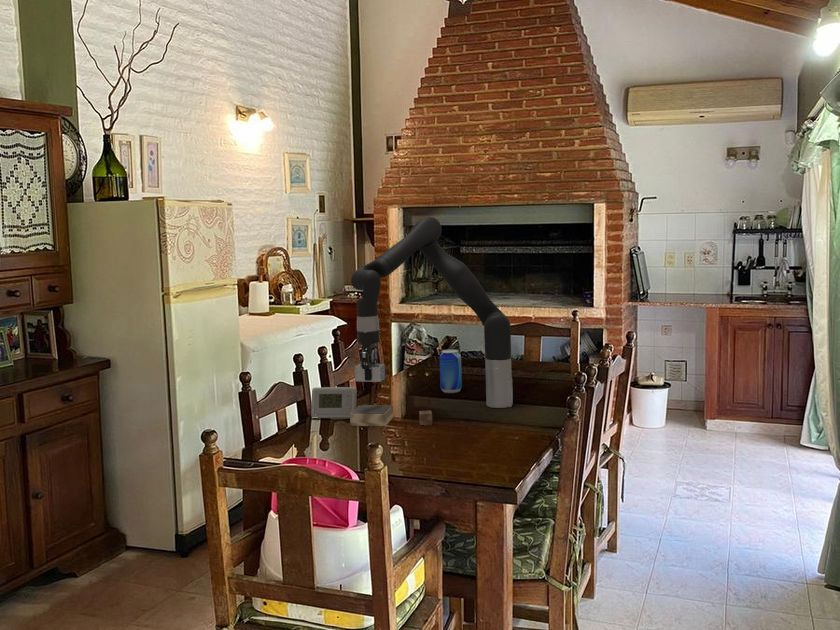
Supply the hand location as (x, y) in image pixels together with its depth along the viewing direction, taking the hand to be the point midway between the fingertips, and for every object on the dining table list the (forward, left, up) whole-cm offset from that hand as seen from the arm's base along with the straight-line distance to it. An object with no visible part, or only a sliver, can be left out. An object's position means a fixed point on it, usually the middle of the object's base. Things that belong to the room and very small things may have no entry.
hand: (370, 378), depth 263 cm
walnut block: (-19, +2, -15) cm, 24 cm away
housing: (0, 0, -1) cm, 1 cm away
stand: (0, 0, -15) cm, 15 cm away
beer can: (-20, -46, -15) cm, 52 cm away
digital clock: (+15, -4, -15) cm, 21 cm away
